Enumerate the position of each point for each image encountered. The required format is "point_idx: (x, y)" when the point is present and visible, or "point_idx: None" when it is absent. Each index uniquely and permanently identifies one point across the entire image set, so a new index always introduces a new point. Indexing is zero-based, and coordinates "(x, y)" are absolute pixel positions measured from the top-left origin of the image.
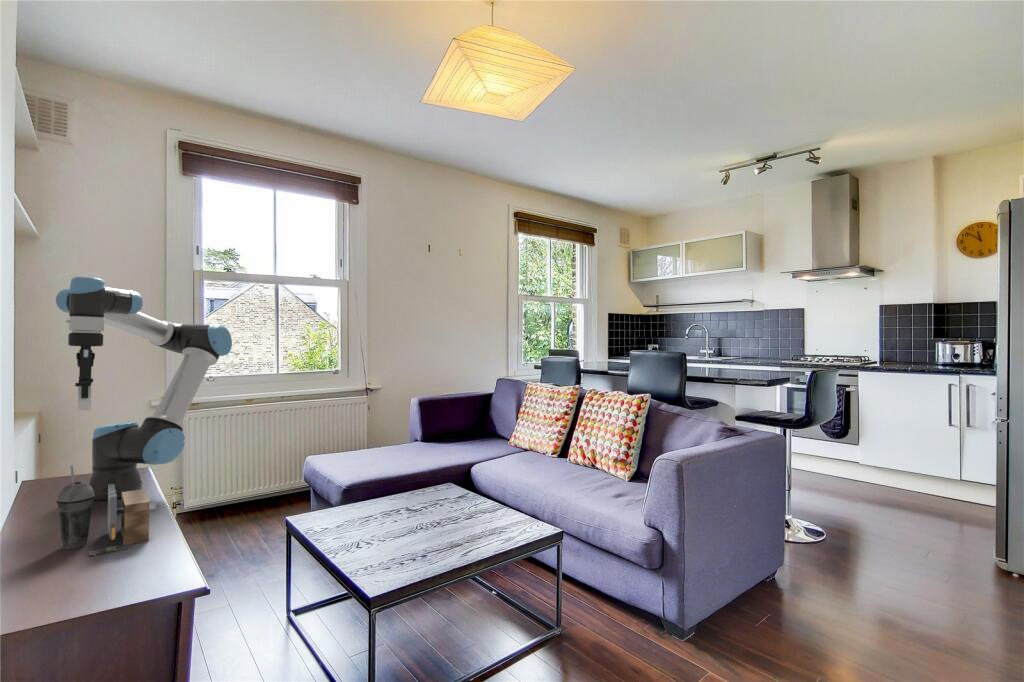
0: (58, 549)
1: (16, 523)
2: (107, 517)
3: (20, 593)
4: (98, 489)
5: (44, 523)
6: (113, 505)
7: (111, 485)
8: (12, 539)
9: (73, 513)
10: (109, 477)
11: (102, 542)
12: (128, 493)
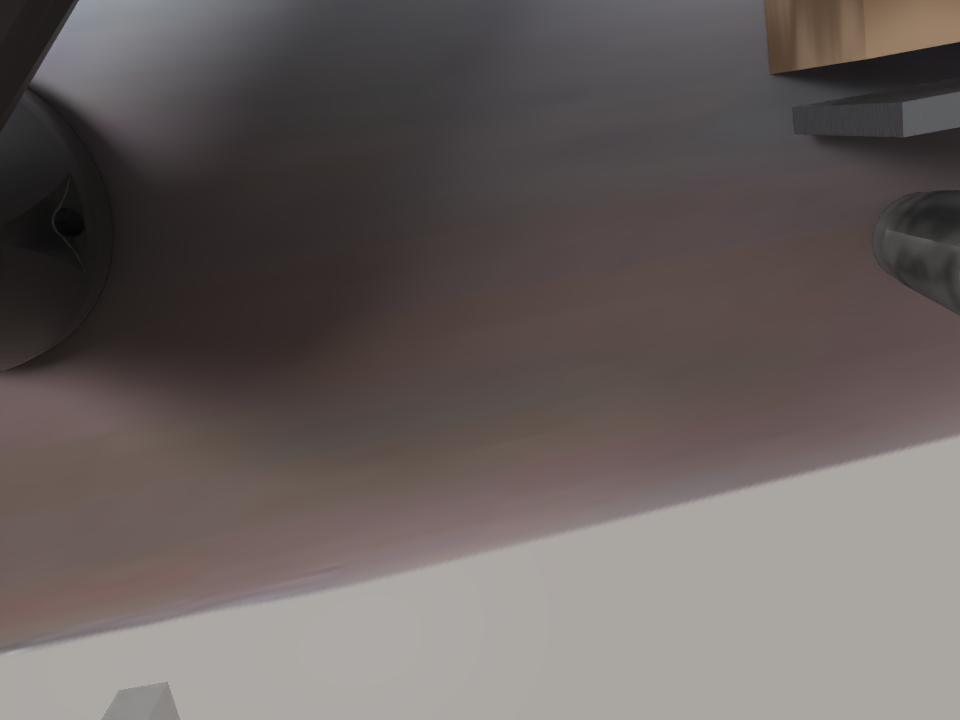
0: None
1: (411, 544)
2: (806, 134)
3: None
4: (68, 293)
5: (470, 435)
6: None
7: (944, 112)
8: (667, 495)
9: None
10: (14, 248)
11: None
12: (932, 8)
